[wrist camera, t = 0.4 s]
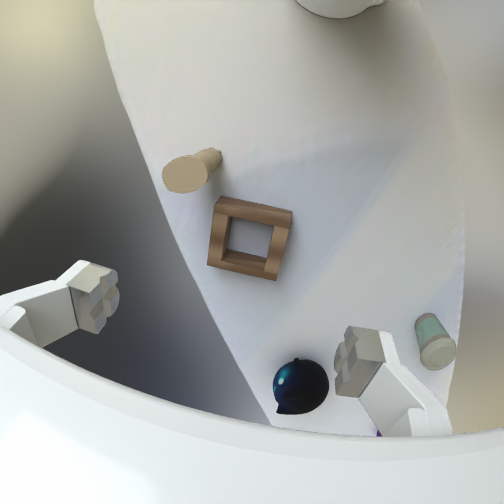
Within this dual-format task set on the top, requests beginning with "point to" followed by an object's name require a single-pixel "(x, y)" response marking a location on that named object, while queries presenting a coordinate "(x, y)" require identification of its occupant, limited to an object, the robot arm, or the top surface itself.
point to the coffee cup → (434, 343)
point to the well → (243, 261)
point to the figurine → (300, 387)
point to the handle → (190, 170)
